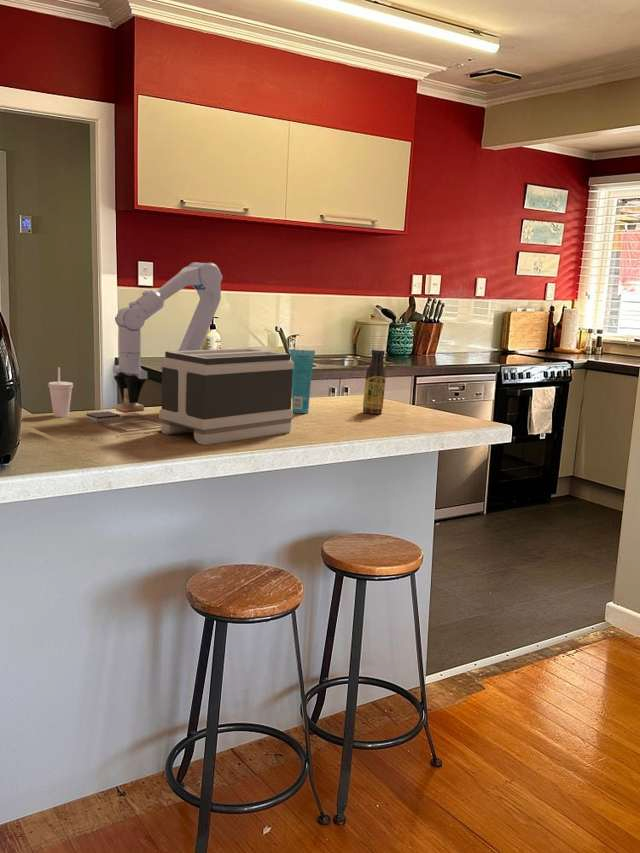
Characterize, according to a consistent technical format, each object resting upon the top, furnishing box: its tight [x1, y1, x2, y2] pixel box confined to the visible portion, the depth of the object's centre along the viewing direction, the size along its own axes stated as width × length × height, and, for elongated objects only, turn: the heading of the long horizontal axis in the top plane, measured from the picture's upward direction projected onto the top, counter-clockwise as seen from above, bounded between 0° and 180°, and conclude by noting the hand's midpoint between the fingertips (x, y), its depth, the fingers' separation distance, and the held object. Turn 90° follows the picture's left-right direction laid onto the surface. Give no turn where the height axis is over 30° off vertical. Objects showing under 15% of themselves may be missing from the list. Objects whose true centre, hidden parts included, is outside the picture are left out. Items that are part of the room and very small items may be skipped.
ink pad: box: [83, 410, 123, 423], centre depth 210 cm, size 8×7×1 cm
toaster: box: [158, 347, 294, 446], centre depth 204 cm, size 18×34×21 cm, turn 136°
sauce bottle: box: [362, 348, 387, 415], centre depth 243 cm, size 7×6×20 cm
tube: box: [289, 349, 316, 414], centre depth 237 cm, size 7×5×19 cm, turn 99°
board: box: [77, 412, 161, 437], centre depth 208 cm, size 18×22×1 cm
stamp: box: [115, 388, 145, 414], centre depth 214 cm, size 6×4×6 cm
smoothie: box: [47, 366, 74, 418], centre depth 211 cm, size 6×6×14 cm
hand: (129, 401), depth 214 cm, fingers closed on stamp, 3 cm apart
